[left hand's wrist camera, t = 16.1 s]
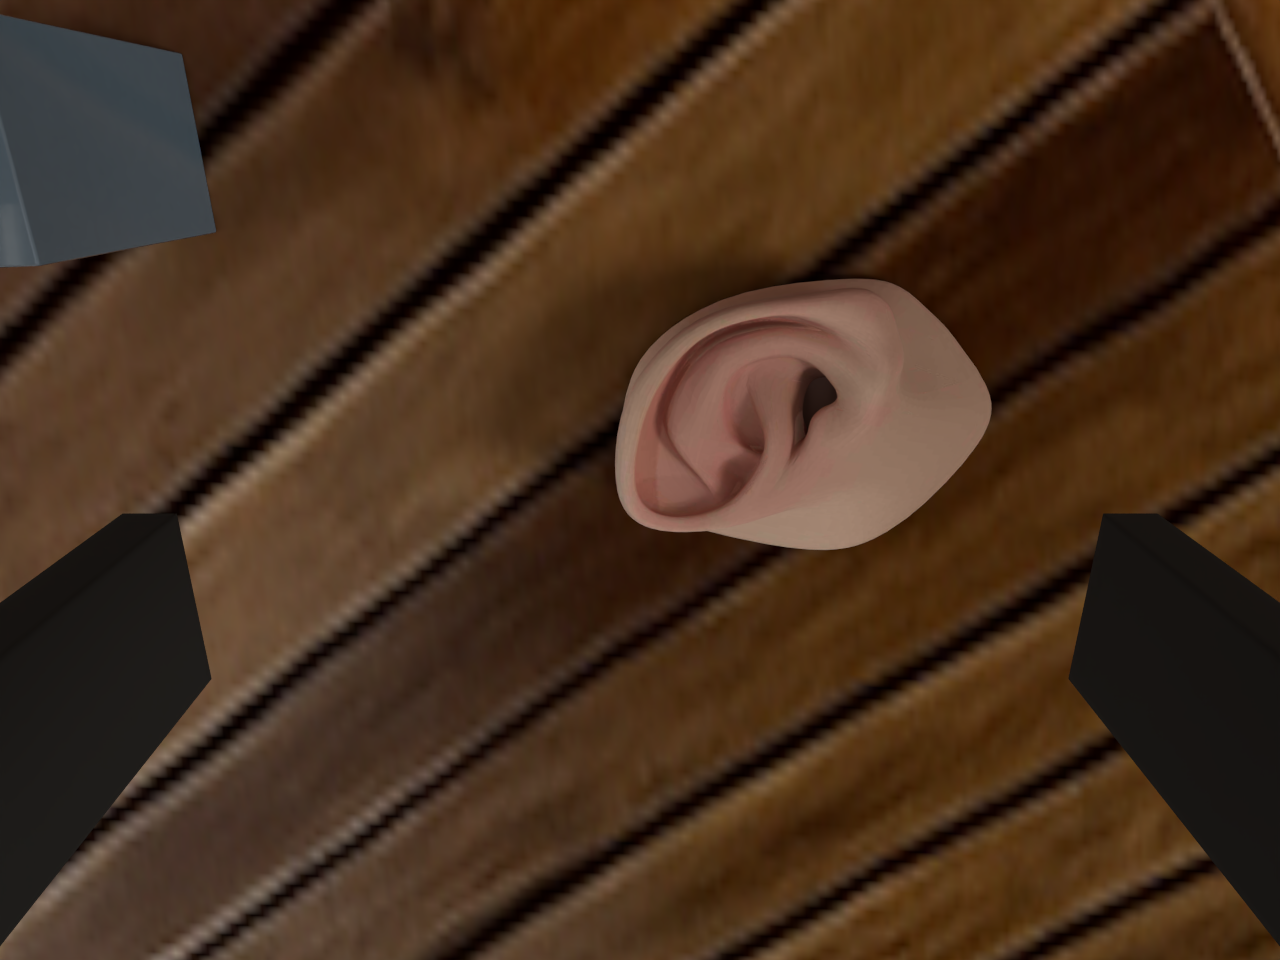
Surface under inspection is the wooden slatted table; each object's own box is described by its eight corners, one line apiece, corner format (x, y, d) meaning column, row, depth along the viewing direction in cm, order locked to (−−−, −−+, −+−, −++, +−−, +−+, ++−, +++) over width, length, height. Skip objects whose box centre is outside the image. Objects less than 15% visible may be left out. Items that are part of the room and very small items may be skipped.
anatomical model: (1083, 371, 29) (911, 652, 32) (1032, 345, 32) (883, 600, 36) (712, 206, 27) (576, 524, 30) (704, 199, 31) (582, 483, 34)
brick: (182, 52, 29) (-30, 6, 20) (217, 232, 31) (39, 266, 22) (41, 57, 29) (-235, 14, 20) (85, 237, 31) (-148, 272, 22)
